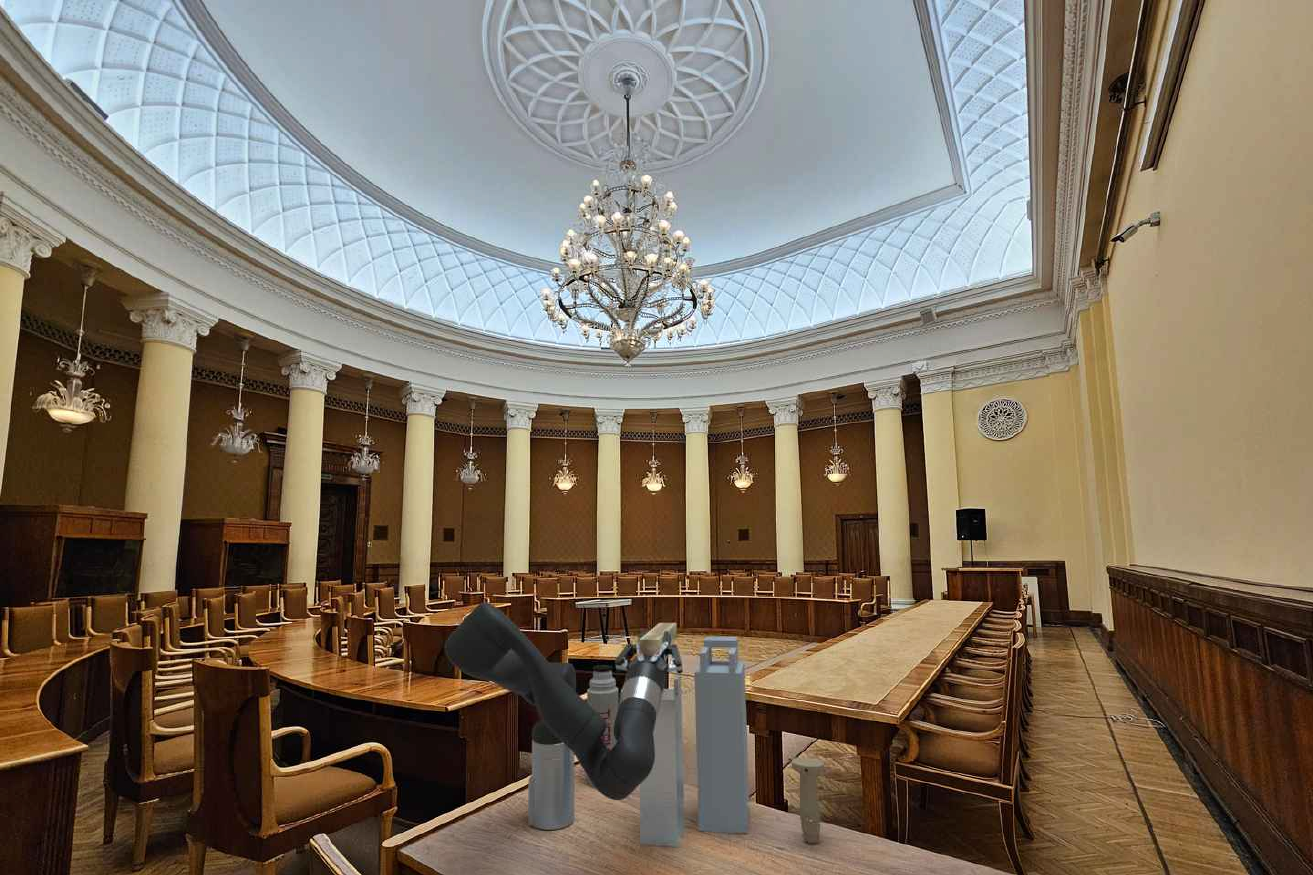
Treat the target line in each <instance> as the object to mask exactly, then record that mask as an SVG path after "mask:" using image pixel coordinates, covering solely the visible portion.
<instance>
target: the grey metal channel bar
mask: <svg viewBox="0 0 1313 875" xmlns="http://www.w3.org/2000/svg"><path fill="white" fill-rule="evenodd" d="M682 703H683V702H682V674H677V675H676V676H675V678H674V679H673V688H664V689H663V694H662V699H661V704H660V708H659V711H658V714H657V717H656V722H655V726H654V731H653V737H654V747H655V760H654V764H653V767H652V770H651V772H650V774H649V775H648V777H647V778H646V779H645V780H644V781H643V782H642V783H641V784H640V785H639V823H640V825H639V826H640V827H639V831H640V832H639V833H640V835H639V836H640V845H646V846H657V847H659V846H661V847H670V848H671V847H673V848H679V845H680V842H681V840H682V835H683V833H684V829H685V794H684V792H685V790H684V782H685V781H684V751H683V749H684V747H683V743H684V742H683V712H682V711H683V710H682V709H683V704H682Z"/></svg>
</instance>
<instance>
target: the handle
mask: <svg viewBox="0 0 1313 875" xmlns="http://www.w3.org/2000/svg"><path fill="white" fill-rule="evenodd" d="M791 768H792V770H793V771H795V772H796V773H798V774H799V816H800V826H801V831H802V833H803V834H802V839H803V841H804V842H806V843H808V844H810V845H812V844H818V843H819V842H820V832H821V807H820V800H819V799H820V798H819V789H818V775H820V774H821V773H822V772H823V771H824V770H825V762H824V761H823V760H821V759H817V758H810V757H795V758H793V759H792V760H791ZM807 819H808V820H807ZM810 820H812V821H810ZM819 823H820V824H819Z"/></svg>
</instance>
